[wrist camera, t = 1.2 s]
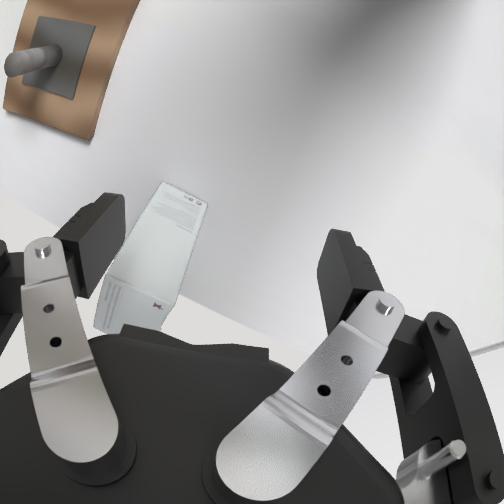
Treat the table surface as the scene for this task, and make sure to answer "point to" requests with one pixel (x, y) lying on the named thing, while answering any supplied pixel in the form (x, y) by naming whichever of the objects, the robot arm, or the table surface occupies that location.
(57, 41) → the post stand
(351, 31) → the table surface
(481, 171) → the table surface
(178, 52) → the table surface
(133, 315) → the skincare box
